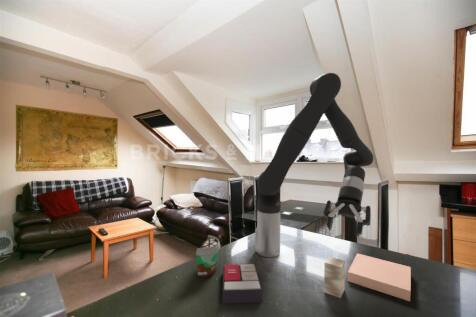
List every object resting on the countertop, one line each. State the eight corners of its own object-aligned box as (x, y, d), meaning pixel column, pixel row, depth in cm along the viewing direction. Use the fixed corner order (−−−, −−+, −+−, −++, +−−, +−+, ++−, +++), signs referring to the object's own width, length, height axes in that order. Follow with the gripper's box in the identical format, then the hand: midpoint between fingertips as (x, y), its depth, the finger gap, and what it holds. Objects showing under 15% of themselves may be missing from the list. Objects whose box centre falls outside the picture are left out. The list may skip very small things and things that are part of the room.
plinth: (347, 280, 73) (347, 271, 73) (356, 261, 86) (357, 253, 85) (410, 301, 63) (410, 291, 63) (410, 275, 76) (410, 267, 76)
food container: (214, 281, 72) (214, 250, 72) (196, 279, 73) (195, 249, 73) (224, 262, 84) (224, 236, 84) (208, 260, 86) (208, 234, 85)
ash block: (323, 292, 67) (324, 262, 67) (328, 284, 71) (329, 256, 70) (340, 298, 64) (341, 267, 64) (344, 290, 68) (345, 260, 68)
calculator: (255, 262, 78) (262, 287, 63) (255, 275, 78) (262, 302, 63) (223, 263, 77) (222, 288, 62) (223, 276, 77) (222, 304, 62)
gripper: (328, 183, 85) (318, 221, 76) (373, 187, 76) (366, 230, 68) (332, 195, 89) (323, 232, 81) (374, 200, 81) (368, 242, 72)
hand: (342, 231), depth 74 cm, fingers open, 8 cm apart
